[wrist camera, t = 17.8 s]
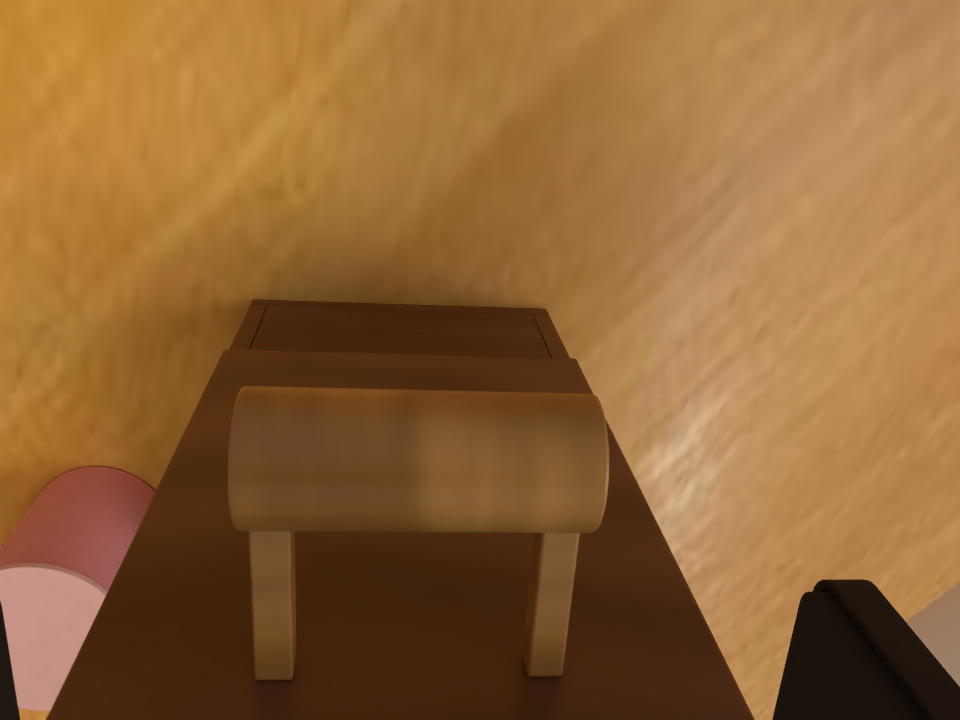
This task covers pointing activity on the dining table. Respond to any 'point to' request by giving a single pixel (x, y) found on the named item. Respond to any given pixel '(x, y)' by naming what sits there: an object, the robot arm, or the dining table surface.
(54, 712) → the lid
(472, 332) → the chest
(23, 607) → the pink cylinder
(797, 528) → the dining table surface
